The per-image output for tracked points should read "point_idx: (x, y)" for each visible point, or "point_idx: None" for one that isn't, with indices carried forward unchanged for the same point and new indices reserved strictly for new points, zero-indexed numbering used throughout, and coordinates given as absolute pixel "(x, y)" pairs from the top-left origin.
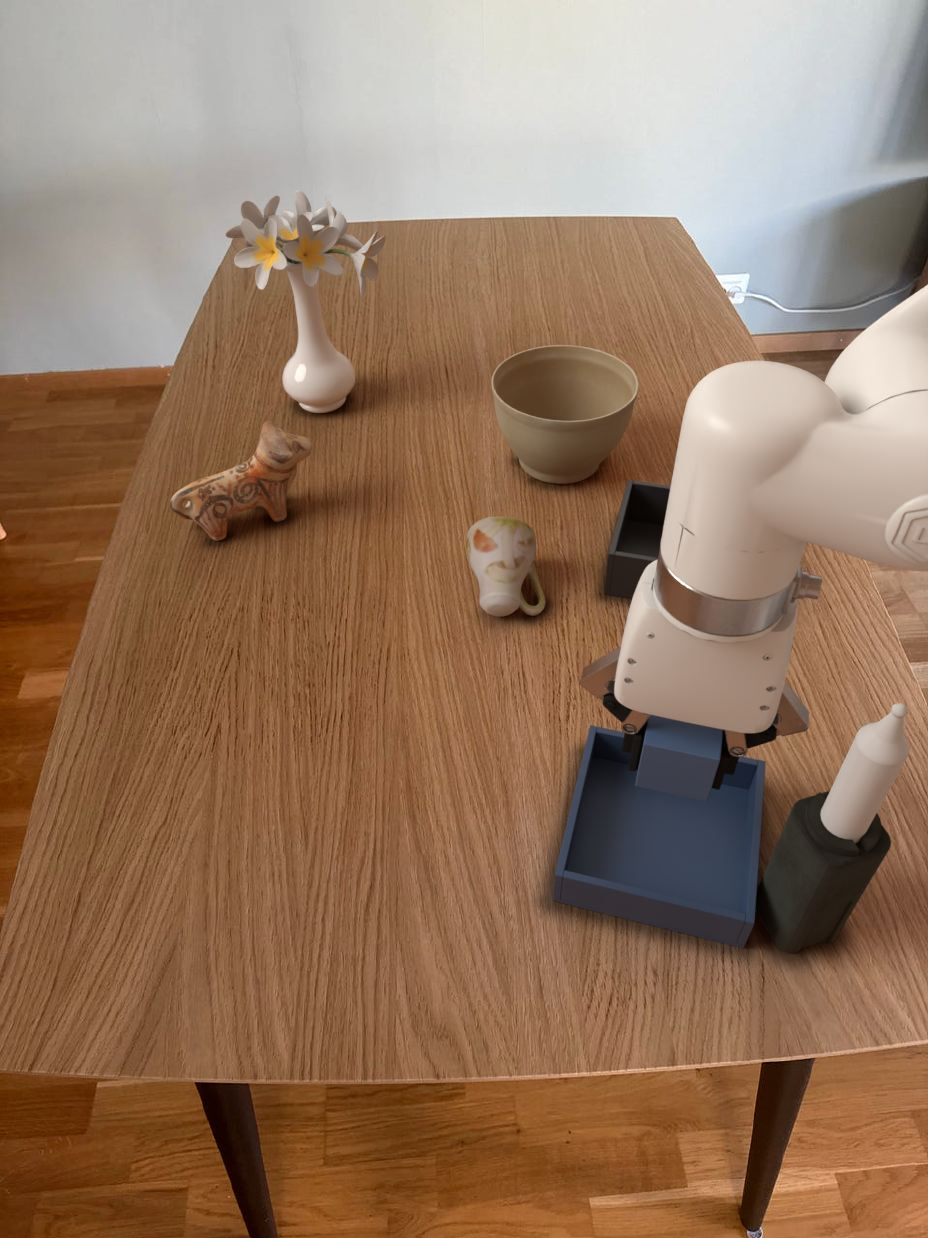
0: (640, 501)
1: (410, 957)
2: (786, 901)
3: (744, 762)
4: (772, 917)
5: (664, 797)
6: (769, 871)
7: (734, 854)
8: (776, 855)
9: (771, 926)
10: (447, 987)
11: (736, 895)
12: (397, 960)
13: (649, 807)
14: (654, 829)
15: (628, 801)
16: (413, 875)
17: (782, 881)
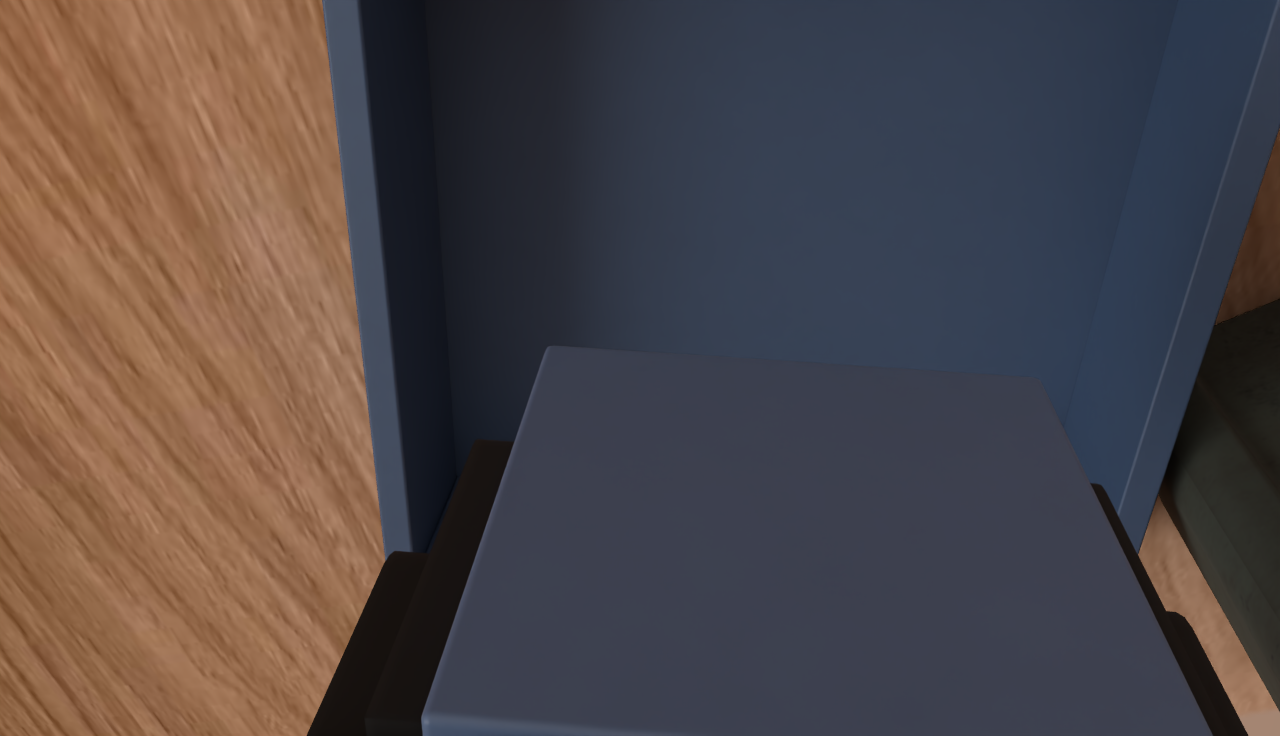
0: None
1: (129, 663)
2: (1253, 659)
3: None
4: (1178, 523)
5: (782, 9)
6: (1214, 564)
7: (1076, 233)
8: (1271, 661)
9: (1166, 504)
10: (252, 710)
11: (1058, 392)
12: (103, 673)
13: (717, 82)
14: (746, 184)
15: (623, 68)
16: (3, 468)
17: (1262, 666)
